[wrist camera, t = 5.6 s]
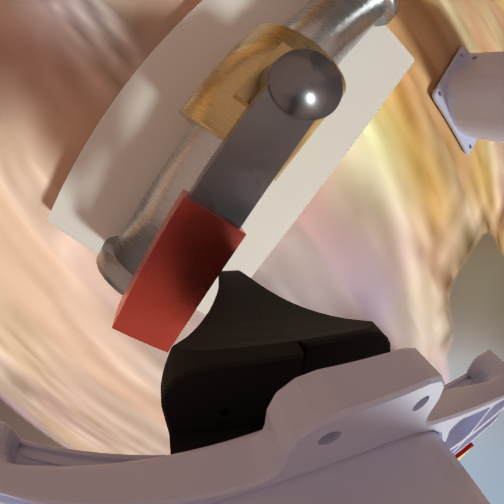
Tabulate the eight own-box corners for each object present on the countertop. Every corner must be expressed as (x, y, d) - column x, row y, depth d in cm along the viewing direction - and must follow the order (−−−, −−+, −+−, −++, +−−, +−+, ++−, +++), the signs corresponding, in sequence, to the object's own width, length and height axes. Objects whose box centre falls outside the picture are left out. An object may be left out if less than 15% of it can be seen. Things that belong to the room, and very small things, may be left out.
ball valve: (315, -22, 13) (369, -66, 7) (373, 30, 16) (441, 8, 9) (102, 236, 17) (66, 291, 11) (177, 280, 20) (179, 351, 13)
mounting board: (277, -51, 12) (283, -60, 11) (403, 62, 18) (414, 59, 17) (54, 214, 17) (46, 220, 15) (214, 309, 22) (217, 320, 21)
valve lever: (284, 45, 9) (300, 34, 8) (334, 87, 10) (356, 82, 9) (116, 304, 11) (109, 326, 10) (169, 329, 12) (169, 353, 11)
